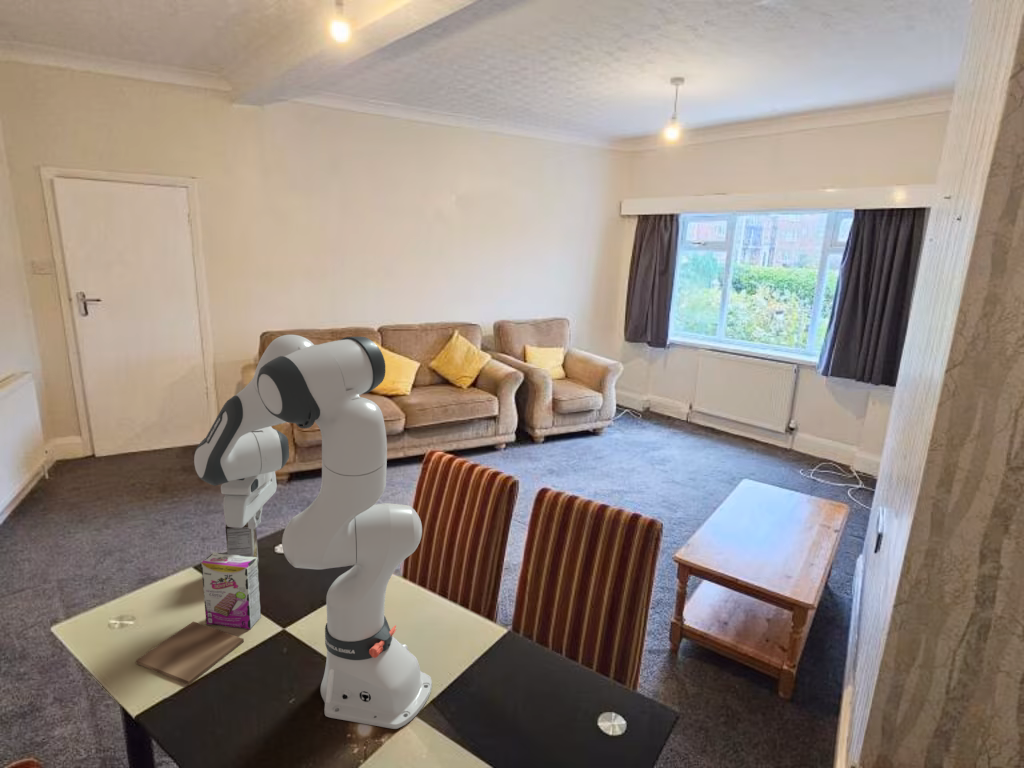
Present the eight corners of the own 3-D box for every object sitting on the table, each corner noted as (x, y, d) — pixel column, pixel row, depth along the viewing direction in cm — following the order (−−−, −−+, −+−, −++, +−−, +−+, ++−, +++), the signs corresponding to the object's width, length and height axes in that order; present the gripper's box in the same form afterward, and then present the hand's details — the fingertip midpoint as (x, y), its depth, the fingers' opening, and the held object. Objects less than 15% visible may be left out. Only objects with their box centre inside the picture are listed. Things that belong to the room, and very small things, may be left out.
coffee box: (233, 564, 156) (230, 510, 152) (259, 561, 158) (256, 508, 154) (228, 582, 147) (224, 526, 144) (255, 579, 149) (251, 524, 146)
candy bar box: (204, 625, 130) (199, 562, 127) (218, 612, 135) (213, 551, 132) (250, 631, 129) (246, 567, 126) (262, 617, 134) (258, 555, 131)
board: (243, 641, 126) (243, 638, 126) (189, 684, 113) (188, 681, 113) (193, 624, 131) (193, 621, 130) (135, 663, 118) (135, 660, 118)
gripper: (256, 456, 142) (259, 506, 145) (216, 490, 122) (220, 547, 125) (281, 457, 142) (284, 507, 145) (245, 491, 122) (249, 548, 125)
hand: (254, 526), depth 135 cm, fingers closed
